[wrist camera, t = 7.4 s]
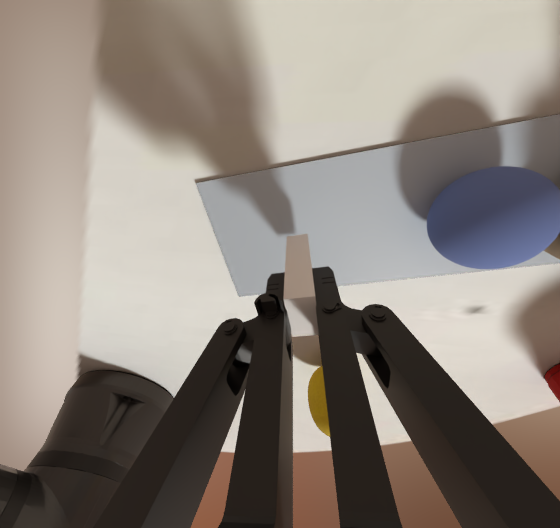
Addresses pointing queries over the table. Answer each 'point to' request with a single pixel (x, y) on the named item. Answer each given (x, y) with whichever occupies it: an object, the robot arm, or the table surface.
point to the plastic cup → (554, 380)
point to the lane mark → (366, 205)
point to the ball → (495, 217)
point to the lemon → (318, 401)
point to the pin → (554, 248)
